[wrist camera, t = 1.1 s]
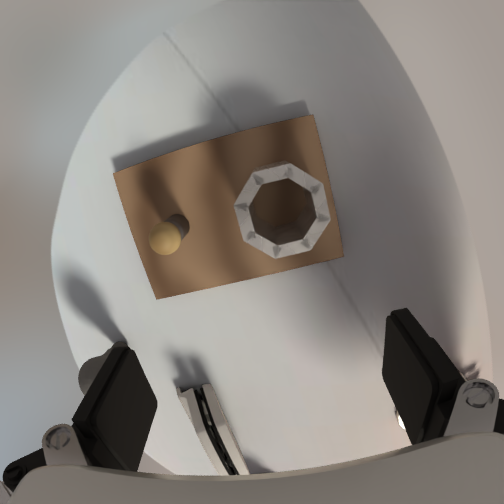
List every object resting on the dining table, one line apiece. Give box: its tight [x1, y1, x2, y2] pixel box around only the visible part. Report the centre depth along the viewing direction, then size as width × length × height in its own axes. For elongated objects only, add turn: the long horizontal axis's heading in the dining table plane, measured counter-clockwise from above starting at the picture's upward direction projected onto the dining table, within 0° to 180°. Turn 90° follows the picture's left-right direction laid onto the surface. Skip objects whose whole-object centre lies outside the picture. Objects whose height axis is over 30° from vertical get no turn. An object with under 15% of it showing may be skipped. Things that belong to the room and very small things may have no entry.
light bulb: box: [78, 342, 127, 395], centre depth 32 cm, size 6×6×10 cm
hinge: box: [176, 384, 250, 476], centre depth 37 cm, size 17×5×10 cm, turn 13°
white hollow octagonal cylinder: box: [234, 161, 331, 259], centre depth 26 cm, size 7×7×6 cm
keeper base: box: [113, 115, 344, 299], centre depth 28 cm, size 20×14×7 cm
